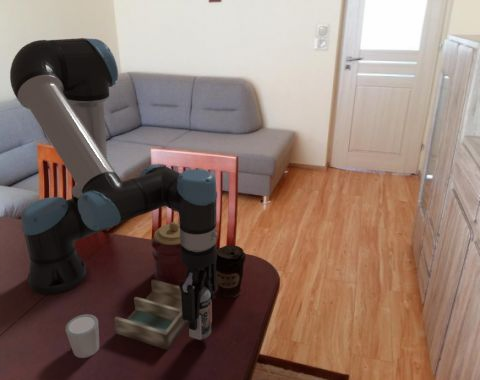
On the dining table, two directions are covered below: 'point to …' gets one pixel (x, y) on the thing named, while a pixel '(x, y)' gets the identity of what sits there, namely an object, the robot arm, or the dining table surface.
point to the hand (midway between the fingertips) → (200, 328)
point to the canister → (168, 255)
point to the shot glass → (83, 335)
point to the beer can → (205, 312)
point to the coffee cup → (229, 270)
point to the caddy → (155, 317)
